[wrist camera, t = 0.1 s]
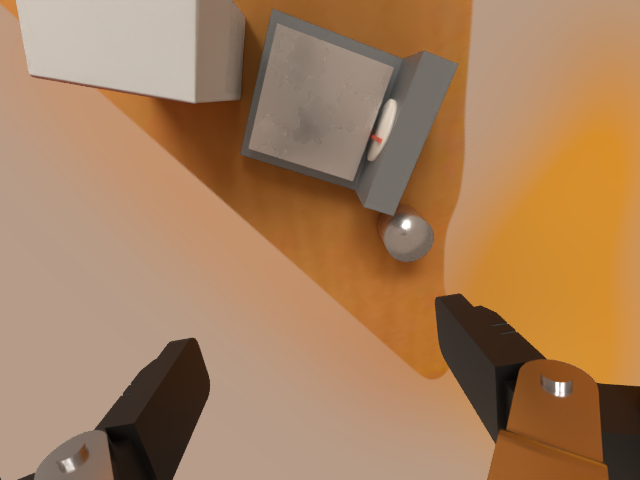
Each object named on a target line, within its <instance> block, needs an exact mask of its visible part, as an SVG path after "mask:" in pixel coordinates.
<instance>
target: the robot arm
mask: <svg viewBox="0 0 640 480" xmlns="http://www.w3.org/2000/svg"><path fill="white" fill-rule="evenodd" d="M435 309H436V319H437V330H438V340H439V345H440V349H441V352H442V355H443V357H444V359H445V361H446V363H447V364H448V366H449V368H450V369H451V371H452V373H453V374H454V376H455V378H456V379H457V381H458V383H459V384H460V386H461V388H462V389H463V391H464V393H465V394H466V396H467V398H468V399H469V401H470V402H471V404H472V406H473V407H474V409H475V410H476V412H477V414H478V416H479V417H480V419H481V421H482V422H483V424H484V426H485V427H486V429H487V431H488V432H489V434H490V435H491V437H492V439H493V441H494V442H495V444H496V445H495V450H494V454H493V458H492V462H491V466H490V470H489V474H488V479H487V480H640V386H626V385H625V386H624V385H611V384H600V383H596V382H595V381H594V380H593V378H592V377H591V376H589V374H587V373H586V372H584V371H583V370H581V369H579V368H577V367H575V366H573V365H571V364H567V363H565V362H561V361H556V360H547V359H546V358H545V357H544V356H543V355H542V354H541V353H540V352H539V351H538V350H536V349H535V348H534V347H533V346H532V345H531V344H530V343H529V342H528V341H527V340H526V339H524V338H523V337H522V336H521V335H520V334H519V333H518V332H516V331H515V329H514V328H513V327H511V326H510V325H509V324H507V322H506V321H505V320H504V319H503V318H502V317H501V316H499V315H498V314H497V313H496V312H494V311H492V310H489V309H487V308H485V307H483V306H476V307H473V306H472V305H471V304H470V303H469V302H468V301H467V300H466V299H465V298H464V296H462V295H461V294H453V295H447V296H441V297H436V299H435ZM209 392H210V379H209V375H208V372H207V369H206V366H205V363H204V360H203V357H202V353H201V350H200V348H199V345H198V342H197V340H196V339H195V338H188V339H182V340H177V341H171V342H169V343H168V344H167V346H166V347H165V348H164V350H163V351H162V352H161V354H160V355H159V356H158V358H157V359H155V360H153V361H152V362H151V363H150V364H149V365H147V366H146V367H145V368H143V369H142V370H141V371H140V372H139V374H138V375H137V376H136V377H135V379H134V380H133V381H132V382H131V385H129V386H128V387H127V389H126V390H125V391H124V393H123V396H120V398H119V399H118V400H117V401H116V403H115V404H114V405H113V407H112V408H111V409H110V410H109V412H108V413H107V414H106V415H105V417H104V418H103V419H102V421H101V422H100V423H99V425H98V426H97V427H96V428H95V429H94V430H93V431H88V432H84V433H82V434H79V435H77V436H75V437H73V438H71V439H69V440H68V441H66V442H65V443H63V444H61V445H60V446H59V447H57V448H56V449H55V450H54V451H52V452H51V453H50V454H49V455H48V456H47V457H46V458H45V459H44V460H43V461H42V463H41V464H40V465H39V467H38V468H37V471H36V473H33V474H31V475H28V476H26V477H23V478H21V479H18V480H173V477H174V475H175V473H176V470H177V468H178V465H179V463H180V461H181V459H182V456H183V454H184V452H185V449H186V447H187V444H188V443H189V440H190V438H191V436H192V433H193V431H194V429H195V426H196V424H197V422H198V419H199V417H200V415H201V412H202V410H203V408H204V406H205V403H206V401H207V399H208V396H209ZM0 480H1V478H0Z"/></svg>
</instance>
